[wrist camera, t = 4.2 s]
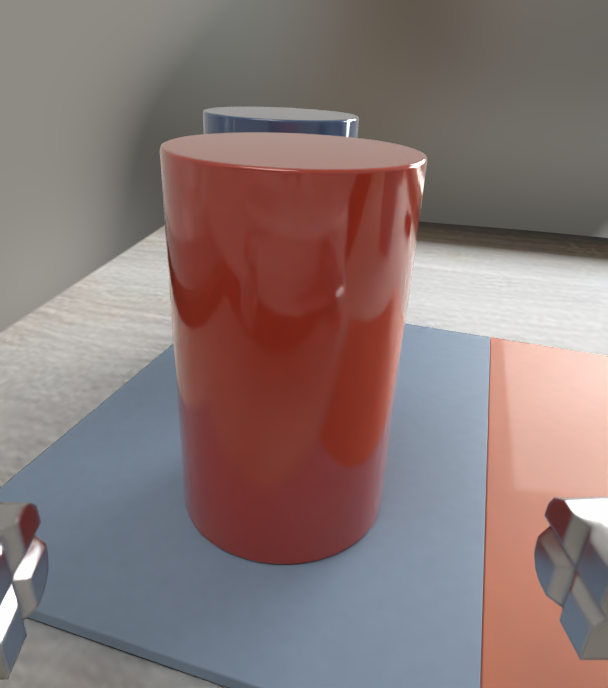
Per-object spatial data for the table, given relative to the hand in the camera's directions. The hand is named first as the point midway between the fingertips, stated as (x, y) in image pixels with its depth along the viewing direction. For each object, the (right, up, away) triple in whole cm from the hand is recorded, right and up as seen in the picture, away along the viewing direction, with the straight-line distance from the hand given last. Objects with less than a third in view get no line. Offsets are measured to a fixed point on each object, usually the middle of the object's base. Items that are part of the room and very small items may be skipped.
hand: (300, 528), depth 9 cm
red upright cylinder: (-1, -2, +8) cm, 8 cm away
